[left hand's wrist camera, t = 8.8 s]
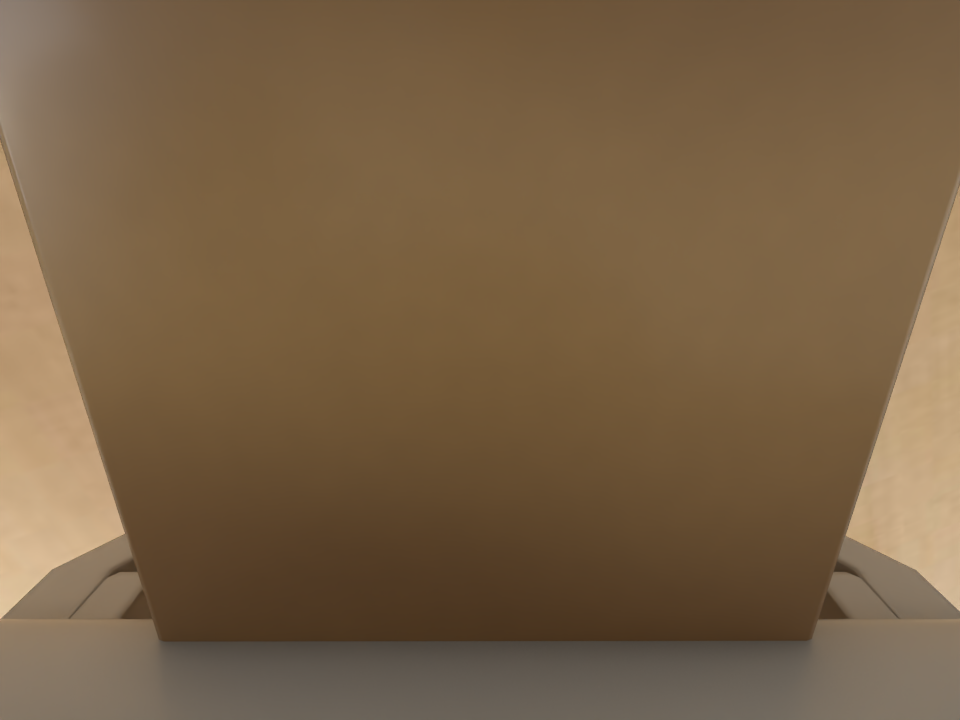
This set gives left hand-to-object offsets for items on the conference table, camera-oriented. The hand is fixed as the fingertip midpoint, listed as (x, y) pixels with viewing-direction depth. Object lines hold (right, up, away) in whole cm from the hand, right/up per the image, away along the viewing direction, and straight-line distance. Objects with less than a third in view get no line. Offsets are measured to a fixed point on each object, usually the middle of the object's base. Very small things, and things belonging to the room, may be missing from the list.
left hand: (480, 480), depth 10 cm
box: (0, +8, +2) cm, 8 cm away
